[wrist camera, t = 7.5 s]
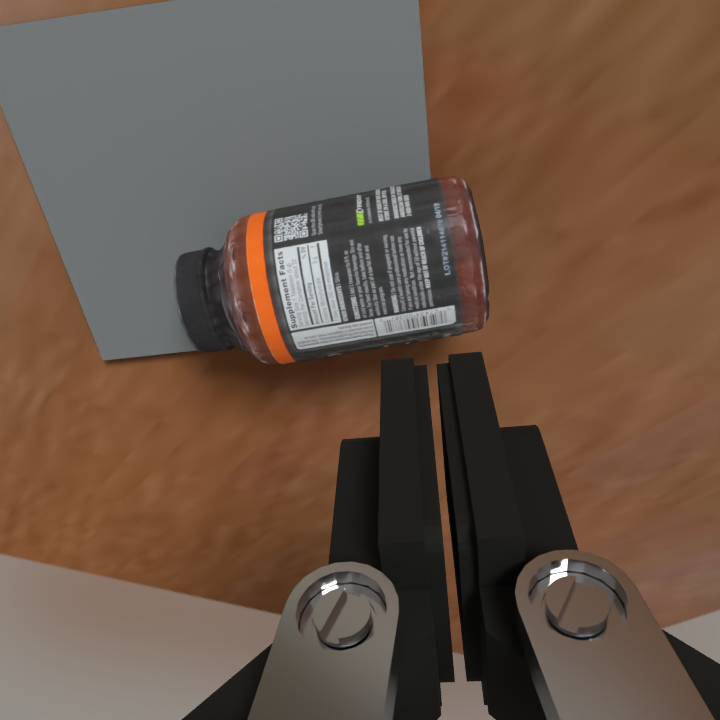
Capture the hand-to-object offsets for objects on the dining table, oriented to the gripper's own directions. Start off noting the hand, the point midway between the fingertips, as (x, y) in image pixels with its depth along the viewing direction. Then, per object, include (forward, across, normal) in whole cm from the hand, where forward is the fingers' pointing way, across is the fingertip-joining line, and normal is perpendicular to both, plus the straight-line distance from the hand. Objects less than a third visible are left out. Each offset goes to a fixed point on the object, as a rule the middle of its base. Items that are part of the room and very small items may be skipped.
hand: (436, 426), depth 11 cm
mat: (+17, +7, 0) cm, 18 cm away
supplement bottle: (+14, -2, +3) cm, 14 cm away
